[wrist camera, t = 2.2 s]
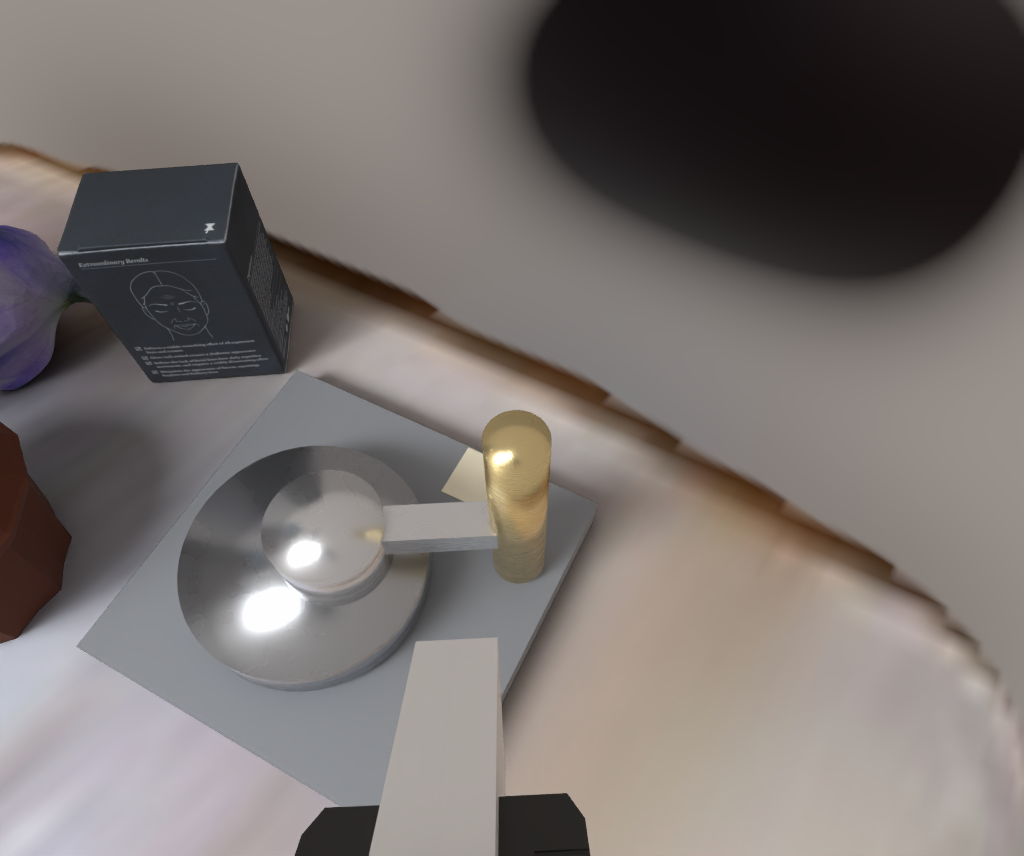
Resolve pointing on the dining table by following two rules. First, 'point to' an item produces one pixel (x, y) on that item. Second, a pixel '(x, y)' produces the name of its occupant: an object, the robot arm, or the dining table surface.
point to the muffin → (25, 542)
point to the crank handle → (347, 554)
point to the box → (181, 270)
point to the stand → (379, 692)
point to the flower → (30, 304)
